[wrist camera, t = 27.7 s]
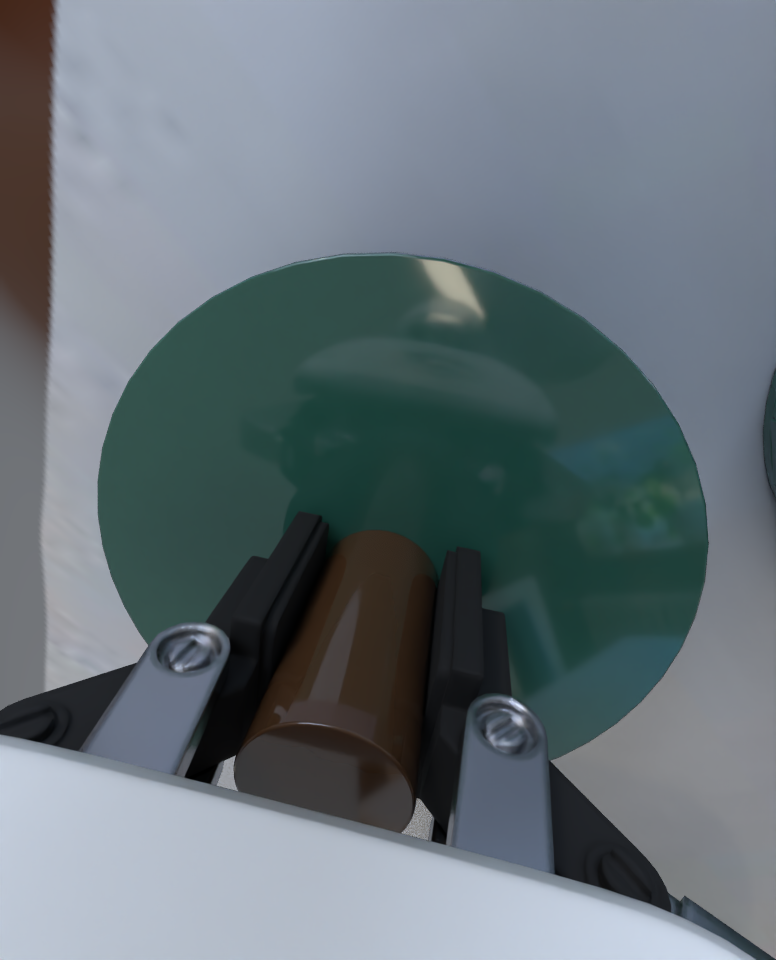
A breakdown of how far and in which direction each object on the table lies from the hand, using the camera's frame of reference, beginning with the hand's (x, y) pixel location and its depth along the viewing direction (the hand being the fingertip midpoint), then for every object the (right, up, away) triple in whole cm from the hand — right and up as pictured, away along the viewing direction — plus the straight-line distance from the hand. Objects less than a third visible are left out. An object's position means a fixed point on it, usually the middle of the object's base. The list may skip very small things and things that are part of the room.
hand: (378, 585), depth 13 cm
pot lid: (0, 0, +1) cm, 1 cm away
